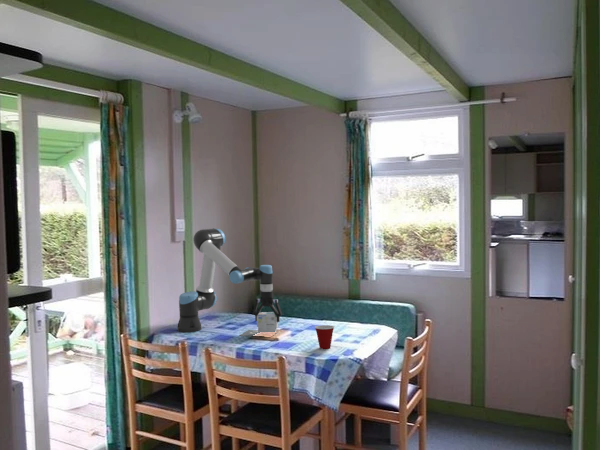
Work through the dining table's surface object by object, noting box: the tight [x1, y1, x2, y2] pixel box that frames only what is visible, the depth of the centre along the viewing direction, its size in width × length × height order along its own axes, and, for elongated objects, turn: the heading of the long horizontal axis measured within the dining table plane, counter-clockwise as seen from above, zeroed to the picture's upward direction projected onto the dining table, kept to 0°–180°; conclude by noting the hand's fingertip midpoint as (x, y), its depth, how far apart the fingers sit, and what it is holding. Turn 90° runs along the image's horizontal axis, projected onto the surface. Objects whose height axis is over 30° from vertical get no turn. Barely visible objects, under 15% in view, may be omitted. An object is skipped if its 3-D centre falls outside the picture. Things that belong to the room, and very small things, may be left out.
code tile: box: [239, 329, 260, 337], centre depth 317 cm, size 20×14×1 cm
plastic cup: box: [314, 324, 335, 350], centre depth 283 cm, size 11×11×12 cm
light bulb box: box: [257, 311, 278, 332], centre depth 314 cm, size 11×7×11 cm, turn 84°
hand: (267, 326), depth 314 cm, fingers closed on light bulb box, 11 cm apart
